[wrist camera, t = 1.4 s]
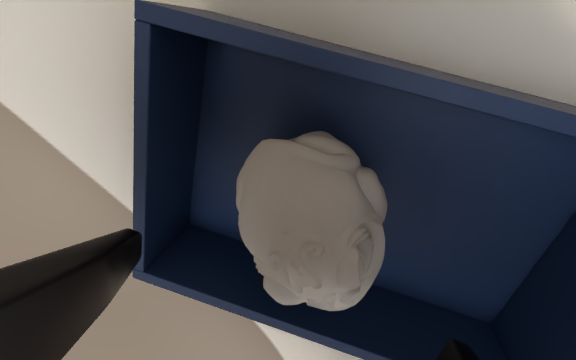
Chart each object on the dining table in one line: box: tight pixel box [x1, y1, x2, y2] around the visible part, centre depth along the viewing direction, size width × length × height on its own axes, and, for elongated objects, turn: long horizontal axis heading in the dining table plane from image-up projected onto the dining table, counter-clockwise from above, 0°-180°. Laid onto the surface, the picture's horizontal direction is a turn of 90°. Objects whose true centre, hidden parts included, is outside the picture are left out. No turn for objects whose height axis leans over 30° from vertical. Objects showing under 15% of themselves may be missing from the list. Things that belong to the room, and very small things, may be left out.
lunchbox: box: [133, 0, 576, 360], centre depth 14 cm, size 19×12×5 cm, turn 77°
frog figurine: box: [236, 131, 387, 311], centre depth 13 cm, size 6×7×7 cm
